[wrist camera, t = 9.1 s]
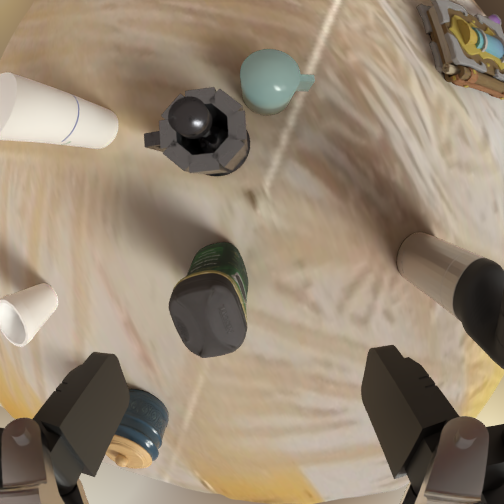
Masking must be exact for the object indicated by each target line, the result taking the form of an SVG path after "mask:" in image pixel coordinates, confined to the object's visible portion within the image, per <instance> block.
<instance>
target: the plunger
mask: <svg viewBox="0 0 504 504" xmlns="http://www.w3.org/2000/svg"><path fill="white" fill-rule="evenodd" d="M168 121H169V124H170V126H171V127H172V129H174V130H175V131H176V132H178V133H180V134H181V135H183V136H185V137H186V138H189V139H198V138H199V146H200V148H201V149H202V151H204V152H205V153H207V154H208V153H214V152H215V151H216V150H217V149H218V148H219V147H220V146H221V144H222V143H223V142H224V141H225V140H226V139H227V138H228V135H227V133H226V132H225V131H224V130H223V129H222V128H220V127H216V126H212V116H211V114H210V112H209V110H208V109H207V107H206V106H205V104H204V103H203V102H202V101H201V100H200V99H198V98H196V97H192V96H187V97H183V98H180V99H178V100H177V101H176V102H175V103H174V104H173V105H172V106H171V108H170V110H169V113H168ZM211 126H212V127H211Z"/></svg>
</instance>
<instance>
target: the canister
mask: <svg viewBox="0 0 504 504" xmlns="http://www.w3.org/2000/svg"><path fill="white" fill-rule="evenodd" d="M129 395H130V400H129V405H128V408H127V410H126V412H125V414H124V416H123V418H122V420H121V422H120V424H119V426H118V428H117V430H116V432H115V434H114V437H113V439H112V441H111V443H110V445H109V447H108V449H107V451H106V455H107V456H108V457H109V458H110V459H111V460H113V461H114V462H116V464H117V465H118V466H121V467H128V468H146V467H149V466H150V465H151V463H152V461H154V460H156V459H157V457H158V455H159V452H158V449H159V448H160V447H161V445H162V438H163V435H164V431H165V428H166V427H167V424H168V411H167V409H166V407H165V405H164V404H163V403H162V402H161V401H160V400H159V399H157V398H156V397H155V396H153V395H151V394H149V393H147V392H144V391H141V390H136V389H129Z"/></svg>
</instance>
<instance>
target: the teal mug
mask: <svg viewBox="0 0 504 504" xmlns="http://www.w3.org/2000/svg"><path fill="white" fill-rule="evenodd" d="M240 79H241V89H242V97H243V100H244V103H245V104H246V106H247V107H248V108H249V109H250V110H252V111H253V112H255V113H257V114H261V115H274V114H277V113H279V112H281V111H283V110H284V109H285V108H286V107H287V105H288V104H289V102H290V100H291V98H292V96H293V95H294V93H295V91H308V90H309V89H310V88H311V86H312V85H313V83H314V82H315V79H314V75H302V74H300V70H299V67H298V65H297V63H296V62H295V60H294V59H293V58H292V57H290V56H289V55H288V54H286V53H284V52H282V51H279V50H274V49H263V50H259V51H256V52H254V53H252V54H251V55H249V56H248V57H247V58H246V59H245V60H244V62H243V64H242V66H241V69H240Z"/></svg>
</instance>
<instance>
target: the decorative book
mask: <svg viewBox="0 0 504 504" xmlns="http://www.w3.org/2000/svg"><path fill="white" fill-rule="evenodd" d="M431 2H432V4H433V7H430V6H428V7H427V6H425V5H423V4H420V5H418V6H417V9H418V11H419V13H420V15H421V17H422V20H423V22H424V26H425V31H426V34H428V33H430V35H431V38H432V42H431V43H429V44H430V47H431V50H432V53H433V55H434V60H435V65H436V69H437V70H438V71H439V72H442V73H445V79H446V81H447V82H452V83H453V84H455V85H458V86H462V87H466V88H467V87H471V88H474V89H477V90H480V91H483V92H486V93H489V95H491V96H494V97H496V98H500V99H501V100H502V99H504V34H503V31H502V28H501V19H500V18H499V17H498V16H497V15H496V14H492V15H491V16H490V17H486V16H485V17H483V16H481V15H479V14H476V15H475V16H472V15H470V14H468V13H467V11H466V9H465V8H464V7H463V6H461V5H459V4H456V3H454V2H451V1H449V0H431Z"/></svg>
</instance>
